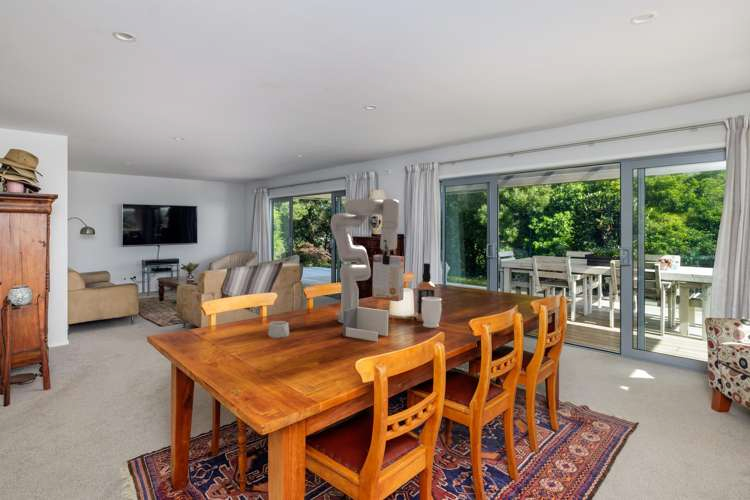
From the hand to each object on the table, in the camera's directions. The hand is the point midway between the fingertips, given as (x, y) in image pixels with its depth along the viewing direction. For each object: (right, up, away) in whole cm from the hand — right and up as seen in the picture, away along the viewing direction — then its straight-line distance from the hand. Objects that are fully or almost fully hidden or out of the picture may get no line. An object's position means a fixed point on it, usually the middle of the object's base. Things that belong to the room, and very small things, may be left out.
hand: (388, 263), depth 191 cm
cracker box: (0, -17, +1) cm, 17 cm away
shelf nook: (-11, -35, +3) cm, 37 cm away
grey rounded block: (-51, -34, -1) cm, 62 cm away
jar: (+23, -34, +24) cm, 48 cm away
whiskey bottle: (+22, -33, +39) cm, 56 cm away
